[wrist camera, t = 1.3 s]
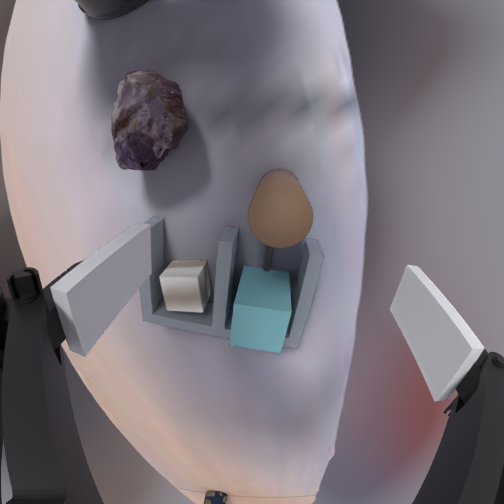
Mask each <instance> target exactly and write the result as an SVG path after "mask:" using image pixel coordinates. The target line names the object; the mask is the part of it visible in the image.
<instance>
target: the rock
mask: <svg viewBox="0 0 504 504" xmlns="http://www.w3.org/2000/svg"><path fill="white" fill-rule="evenodd" d="M117 94H118V98H117V101H116V102H114V105H113V112H112V116H111V122H112V135H113V139H114V149H115V152H116V160H117V163H118V165H119V167H120V168H122V169H124V170H125V169H132V170H155V169H156V168H157V166H158V165H159V164H160V163H161V162H162V161H163V160H164V158H165V156H166V155H167V154H168V152H169V151H170V148H171V149H176V148H177V147H178V145H179V143H180V140H181V138H182V137H183V135H184V134H185V132H186V131H187V129H188V121H187V116H186V111H185V107H184V105H183V100H182V92H181V90H180V88H179V85H178V84H177V83H176V82H173V81H169V80H167V79H165V78H163V77H161V76H159V75H158V74H156V73H155V72H153V71H147V72H145V71H135V72H130V73H127V76H126V78H125V79H124V81H123V80H122V81H120V83H119V86H118V89H117Z"/></svg>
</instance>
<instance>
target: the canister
mask: <svg viewBox="0 0 504 504" xmlns="http://www.w3.org/2000/svg"><path fill="white" fill-rule="evenodd" d="M226 501H227V495H226V494H224V493H221V492H216V491H208V492H206V495H205V500H204V504H226Z"/></svg>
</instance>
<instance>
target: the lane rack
mask: <svg viewBox="0 0 504 504" xmlns="http://www.w3.org/2000/svg"><path fill="white" fill-rule="evenodd" d="M145 224H151V268H152V274H151V275H150V276H149V277H148V278H147V279H146V281H145V282H144V283H143V284H142V285H141V287H140V298H141V307H142V315H143V321H146V322H150V323H155V324H159V325H163V326H167V327H172V328H176V329H181V330H186V331H190V332H195V333H200V334H205V335H211V336H216V337H222V338H227V339H230V334H231V325H232V316H233V308H232V307H230V305H231V295H232V286H233V277H234V268H235V258H236V250H237V241H238V232H239V228H234V227H227V226H226V228H225V230H224V231H223V233H222V235H221V237H220V238H219V240H218V249H217V262H216V275H215V289H214V304H209V303H207V304H206V306H205V309H204V311H203V312H185V311H168V310H167V308H166V304H165V300H164V296H163V292H162V287H161V283H160V278H159V277H160V275H161V274H162V273H163V272H164V218H161V217H152V218H150V219H149V220H147V221H146V222H145ZM323 258H324V255H323V253H322V250H321V247H320V245H319V242H318V240H312V239H305V244H304V248H303V253H302V258H301V262H300V267H299V271H298V276H297V280H296V284H295V289H294V293H293V297H292V301H291V310H292V313H291V317H290V321H289V324H288V328H287V332H286V336H285V339H284V343H283V347H290V348H298V346H299V343H300V340H301V337H302V334H303V330H304V327H305V324H306V321H307V317H308V314H309V310H310V307H311V303H312V300H313V296H314V293H315V289H316V285H317V282H318V278H319V274H320V270H321V266H322V262H323Z"/></svg>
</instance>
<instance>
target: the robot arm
mask: <svg viewBox="0 0 504 504" xmlns="http://www.w3.org/2000/svg"><path fill="white" fill-rule="evenodd" d="M75 1H76V2H77V3H78V6H79V8H80V9H81V11H82V12H83V13H85V14H86V15H88V16H90V17H92V18H95V19H99V20H107V19H112V18H116V17H119V16H122V15H124V14H126V13H128V12H130V11H132V10H134V9H136V8H137V7H139V6H140V5H142V4H143V3H145V2H146V1H147V0H75ZM151 274H152V268H151V224H145V223H138V222H137V223H136V224H134V225H133V226H131V227H130V228H128V229H127V230H125V231H124V232H123V233H121V234H120V235H118V236H117V237H115V238H114V239H113V240H111V241H110V242H108V243H107V244H106V245H104V246H103V247H101V248H100V249H99V250H97V251H96V252H95V253H93V254H92V255H91V256H89V257H88V258H87V259H85V260H83V261H80V262H78V263H76V264H74V265H72V266H71V267H70V268H68V269H67V271H65V272H63V273H62V274H61V276H58V277H57V278H56V279H54V280H53V281H52V282H51V283H50V284H48V285H47V286H46V287H45V288H43V289H42V285H41V281H40V277H39V273H38V270H36V269H35V268H31V267H27V268H22V269H18V270H16V271H14V272H13V273H12V274H10V275H9V276H8V278H7V282H8V286H9V289H10V293H11V296H12V299H11V298H5V296H4V293H3V290H2V288H1V287H0V504H2V501H1V459H2V446H3V436H4V446H5V454H6V460H7V466H8V472H9V477H10V482H11V486H12V492H13V497H12V499H11V500H10V501H8V502H6V504H104V503H103V501H102V499H101V497H100V494H99V492H98V489H97V487H96V485H95V482H94V480H93V477H92V474H91V472H90V469H89V466H88V464H87V460H86V457H85V454H84V451H83V448H82V445H81V441H80V438H79V434H78V430H77V427H76V423H75V419H74V415H73V410H72V405H71V401H70V395H69V390H68V384H67V378H66V372H65V363H64V355H63V350H62V347H61V343H62V342H63V341H64V340H65V339H66V341H67V343H68V346H69V349H70V350H71V351H73V352H75V353H78V354H80V355H82V356H85V357H86V355H87V354H88V353H89V351H90V350H91V348H92V347H93V346H94V344H95V343H96V342H97V340H98V339H99V338H100V337H101V335H102V334H103V333H104V331H105V330H106V329H107V327H108V326H109V325H110V324H111V322H112V321H113V320H114V319H115V317H116V316H117V315H118V314H119V312H120V311H121V310H122V309H123V307H124V306H125V305H126V304H127V302H128V301H129V300H130V299H131V297H132V296H133V295H134V294H135V293H136V291H137V290H138V289H139V288H140V287H141V285H142V284H143V283H144V282H145V281H146V279H147V278H148V277H149V276H150V275H151ZM390 311H391V313H392V314H393V316H394V318H395V320H396V322H397V324H398V325H399V327H400V329H401V331H402V333H403V335H404V337H405V339H406V341H407V343H408V345H409V347H410V349H411V351H412V353H413V355H414V357H415V359H416V361H417V363H418V365H419V368H420V370H421V372H422V374H423V376H424V378H425V381H426V383H427V385H428V387H429V390H430V392H431V394H432V397H433V399H434V401H439V400H445V399H448V398H449V396H450V395H451V394H452V393H453V392H454V390H455V389H456V390H457V392H458V396H457V397H456V398H455V399H454V400H453V401H452V403H451V404H450V405H449V406H448V407H447V408H446V409H445V411H444V414H445V413H446V412H447V411H448V410H451V412H450V413H449V414H448V416H449V418H448V422H447V425H446V428H445V431H444V434H443V437H442V439H441V442H440V445H439V447H438V450H437V453H436V455H435V458H434V460H433V462H432V465H431V467H430V469H429V472H428V474H427V476H426V478H425V480H424V482H423V484H422V486H421V488H420V490H419V492H418V494H417V496H416V498H415V500H414V501H413V503H412V504H504V358H503V356H501V355H500V354H498V353H496V352H490V353H487V351H486V350H485V348H484V347H483V346H482V344H481V342H480V341H479V340H478V338H477V337H476V336H475V334H474V333H473V331H472V330H471V329H470V328H469V326H468V325H467V324H466V322H465V321H464V320H463V319H462V317H461V316H460V315H459V313H458V312H457V311H456V310H455V308H454V307H453V306H452V305H451V304H450V302H449V301H448V300H447V299H446V298H445V296H444V295H443V294H442V293H441V292H440V291H439V289H438V288H437V287H436V286H435V285H434V284H433V283H432V281H431V280H430V279H429V278H428V277H427V276H426V275H425V274H424V273H423V271H422V270H421V269H420V268H419V267H417V266H411V265H407V266H406V268H405V271H404V274H403V277H402V280H401V282H400V284H399V287H398V290H397V292H396V295H395V297H394V300H393V302H392V304H391V307H390Z"/></svg>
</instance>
